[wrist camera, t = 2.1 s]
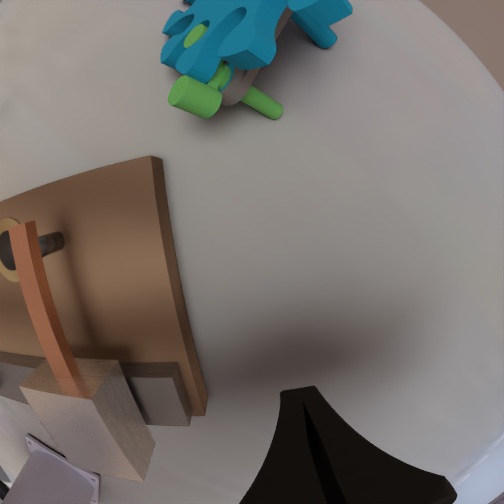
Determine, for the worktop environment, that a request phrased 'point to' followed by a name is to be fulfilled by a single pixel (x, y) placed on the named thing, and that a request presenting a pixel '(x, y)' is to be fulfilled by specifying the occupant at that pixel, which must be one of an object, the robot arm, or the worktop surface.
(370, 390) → the worktop surface
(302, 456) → the robot arm
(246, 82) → the gear
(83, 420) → the slider
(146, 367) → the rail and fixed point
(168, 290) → the hole board
